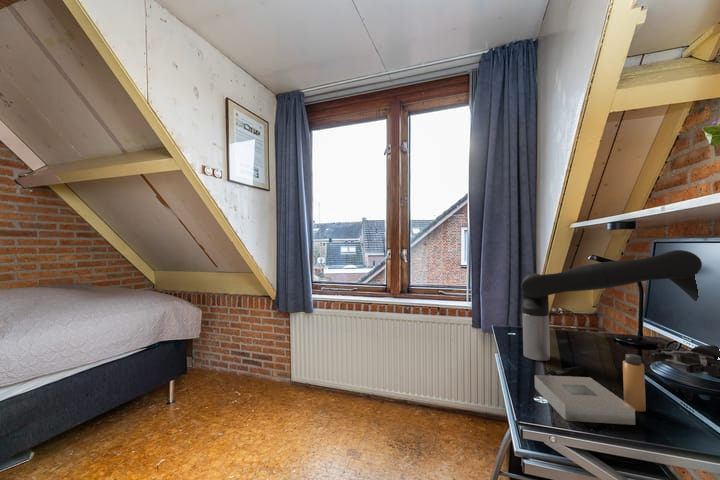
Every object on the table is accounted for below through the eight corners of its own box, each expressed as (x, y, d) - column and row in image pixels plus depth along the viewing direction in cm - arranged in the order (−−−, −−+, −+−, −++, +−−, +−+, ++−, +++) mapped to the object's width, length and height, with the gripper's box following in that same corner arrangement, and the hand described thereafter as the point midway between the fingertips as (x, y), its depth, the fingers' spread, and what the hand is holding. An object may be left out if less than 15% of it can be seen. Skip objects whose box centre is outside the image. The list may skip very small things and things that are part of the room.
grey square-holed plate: (534, 387, 95) (534, 374, 95) (590, 390, 93) (590, 377, 93) (565, 420, 77) (565, 404, 77) (635, 424, 75) (634, 408, 75)
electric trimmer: (587, 377, 103) (587, 367, 103) (553, 383, 98) (553, 373, 98) (576, 372, 107) (576, 363, 107) (543, 378, 102) (543, 369, 102)
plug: (620, 402, 85) (618, 352, 86) (637, 403, 85) (635, 353, 85) (631, 411, 81) (630, 358, 81) (650, 412, 80) (648, 359, 81)
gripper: (687, 338, 93) (642, 341, 91) (752, 354, 79) (700, 358, 77) (689, 362, 93) (643, 366, 91) (754, 382, 79) (702, 387, 77)
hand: (669, 362), depth 84 cm, fingers open, 8 cm apart
